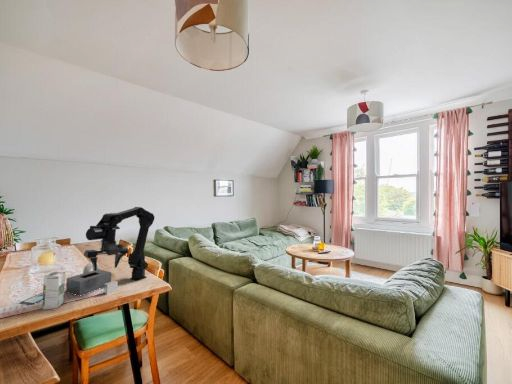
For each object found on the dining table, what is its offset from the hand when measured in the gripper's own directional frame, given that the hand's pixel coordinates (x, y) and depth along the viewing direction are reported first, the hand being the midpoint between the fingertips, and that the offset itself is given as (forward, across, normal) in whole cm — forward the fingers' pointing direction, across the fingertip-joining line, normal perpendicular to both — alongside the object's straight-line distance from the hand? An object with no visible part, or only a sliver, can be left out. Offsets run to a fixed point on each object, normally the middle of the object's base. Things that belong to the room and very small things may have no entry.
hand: (105, 269), depth 121 cm
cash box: (+12, -2, +12) cm, 17 cm away
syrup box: (+14, -19, +1) cm, 24 cm away
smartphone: (+14, -20, +16) cm, 29 cm away
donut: (+11, +3, +27) cm, 29 cm away
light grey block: (+12, +3, -1) cm, 12 cm away
